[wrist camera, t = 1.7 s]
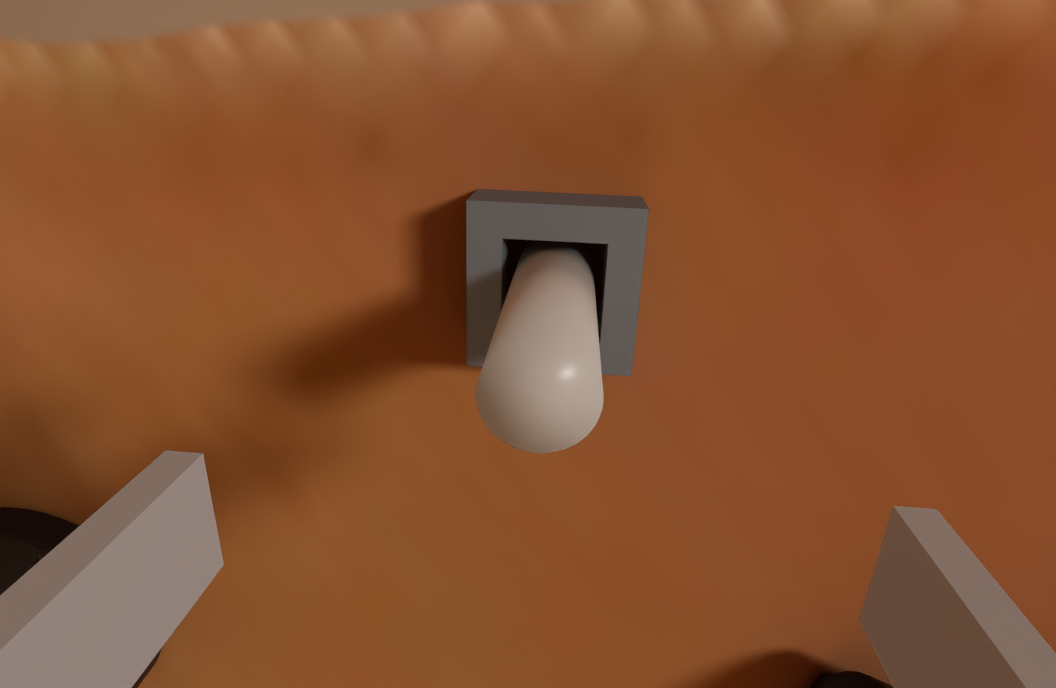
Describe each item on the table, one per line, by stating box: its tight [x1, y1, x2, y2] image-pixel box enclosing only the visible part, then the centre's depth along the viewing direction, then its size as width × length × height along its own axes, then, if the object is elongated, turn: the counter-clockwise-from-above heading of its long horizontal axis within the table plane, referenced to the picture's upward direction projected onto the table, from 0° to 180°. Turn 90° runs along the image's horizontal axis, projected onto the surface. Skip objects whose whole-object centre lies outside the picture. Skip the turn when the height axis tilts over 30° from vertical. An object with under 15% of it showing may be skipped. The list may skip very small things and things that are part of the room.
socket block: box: [466, 189, 649, 376], centre depth 29 cm, size 7×7×3 cm
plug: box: [476, 240, 603, 453], centre depth 24 cm, size 4×4×13 cm
